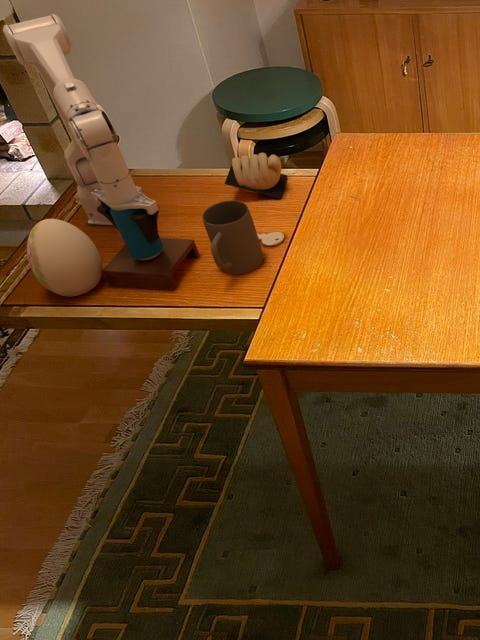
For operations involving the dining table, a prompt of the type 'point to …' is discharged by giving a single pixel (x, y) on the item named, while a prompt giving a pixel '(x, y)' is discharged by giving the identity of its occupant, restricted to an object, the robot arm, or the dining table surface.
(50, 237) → the decorative egg
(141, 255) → the beverage can
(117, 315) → the dining table surface
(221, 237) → the mug
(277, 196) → the decorative object
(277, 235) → the key
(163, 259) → the shelf
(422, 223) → the dining table surface
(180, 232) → the dining table surface
